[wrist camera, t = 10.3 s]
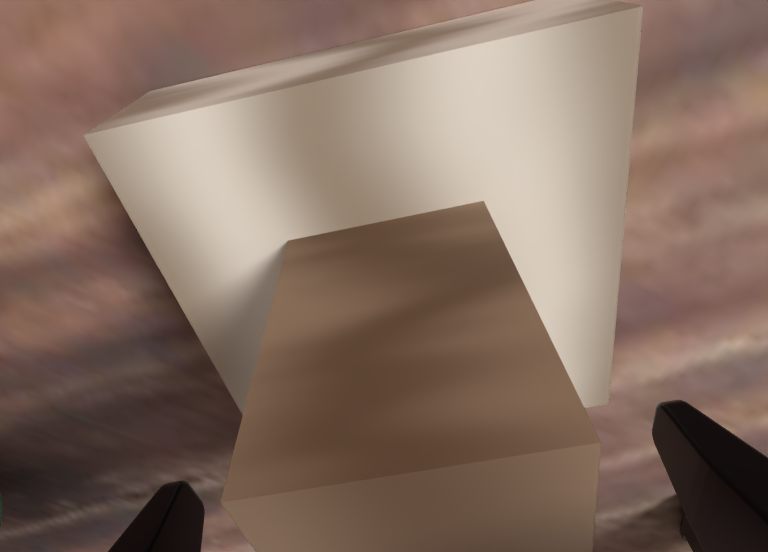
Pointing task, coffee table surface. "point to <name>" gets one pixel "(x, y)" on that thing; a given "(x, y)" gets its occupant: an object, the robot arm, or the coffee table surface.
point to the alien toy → (0, 509)
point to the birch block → (395, 166)
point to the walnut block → (411, 401)
